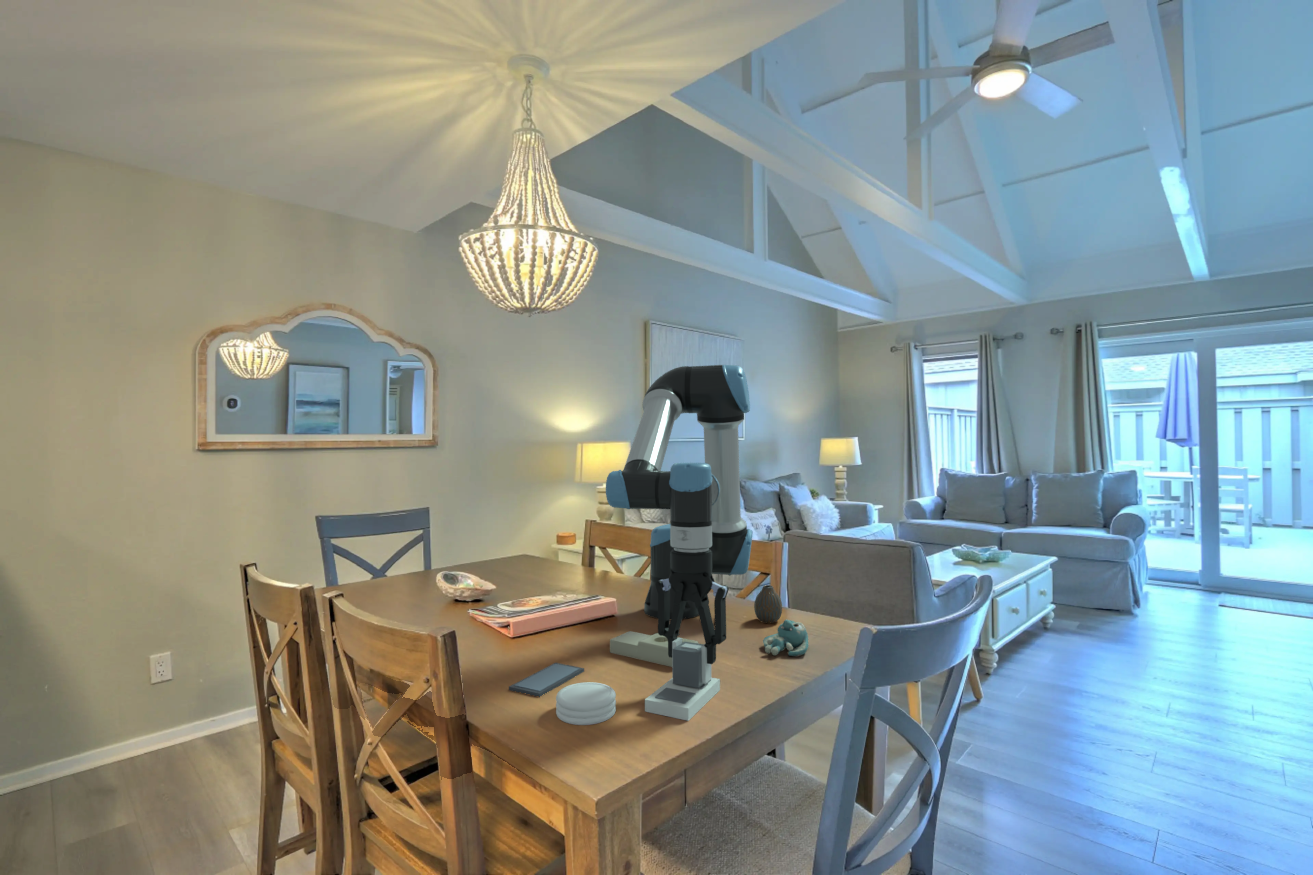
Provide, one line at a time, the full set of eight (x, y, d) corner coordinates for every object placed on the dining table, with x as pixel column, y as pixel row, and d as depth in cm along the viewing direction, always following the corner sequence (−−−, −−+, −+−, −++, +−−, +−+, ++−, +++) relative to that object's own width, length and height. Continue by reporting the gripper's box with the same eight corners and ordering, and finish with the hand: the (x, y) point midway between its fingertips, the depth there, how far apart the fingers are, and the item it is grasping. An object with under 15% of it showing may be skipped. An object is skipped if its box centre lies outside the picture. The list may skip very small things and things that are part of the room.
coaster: (626, 716, 104) (626, 695, 104) (571, 732, 99) (571, 709, 99) (598, 696, 113) (598, 676, 113) (546, 709, 107) (546, 688, 107)
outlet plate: (680, 682, 118) (680, 670, 118) (720, 689, 115) (719, 677, 115) (644, 711, 106) (644, 698, 106) (688, 720, 102) (688, 707, 102)
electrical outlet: (629, 626, 141) (699, 640, 131) (629, 644, 141) (699, 660, 131) (609, 635, 135) (681, 650, 125) (609, 654, 135) (681, 670, 125)
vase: (754, 616, 162) (753, 582, 162) (781, 617, 161) (781, 583, 161) (754, 624, 155) (754, 588, 155) (783, 625, 154) (782, 589, 154)
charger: (684, 673, 117) (684, 640, 117) (709, 678, 114) (709, 644, 114) (672, 682, 112) (672, 647, 112) (698, 687, 110) (698, 651, 110)
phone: (555, 668, 128) (555, 661, 128) (584, 674, 124) (584, 667, 124) (508, 692, 115) (508, 685, 115) (539, 700, 112) (539, 692, 112)
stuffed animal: (746, 627, 135) (778, 606, 143) (750, 658, 136) (781, 635, 144) (789, 638, 127) (820, 615, 136) (793, 671, 128) (823, 646, 137)
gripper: (637, 548, 114) (637, 676, 114) (731, 555, 106) (732, 694, 106) (656, 542, 121) (656, 663, 121) (745, 548, 113) (746, 679, 113)
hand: (691, 677), depth 113 cm, fingers closed on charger, 5 cm apart
